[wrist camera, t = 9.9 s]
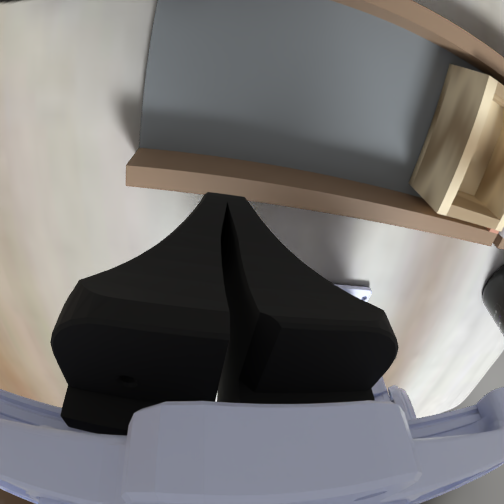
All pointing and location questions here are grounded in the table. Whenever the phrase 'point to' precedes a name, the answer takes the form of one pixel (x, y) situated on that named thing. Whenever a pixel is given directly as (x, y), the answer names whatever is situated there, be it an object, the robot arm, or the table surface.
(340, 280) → the table surface
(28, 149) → the table surface
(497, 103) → the crate
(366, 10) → the bay
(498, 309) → the supplement bottle
